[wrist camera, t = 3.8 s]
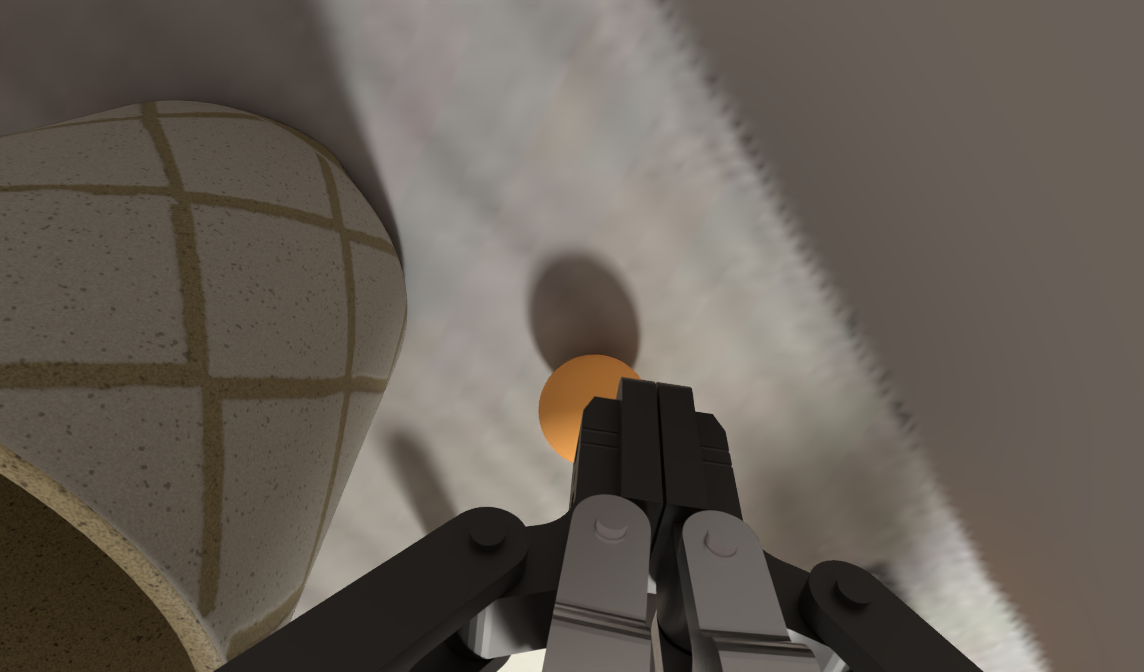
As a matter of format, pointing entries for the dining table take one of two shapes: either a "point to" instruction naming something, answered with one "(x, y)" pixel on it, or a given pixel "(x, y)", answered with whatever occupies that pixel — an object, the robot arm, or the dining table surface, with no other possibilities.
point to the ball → (577, 397)
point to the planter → (178, 380)
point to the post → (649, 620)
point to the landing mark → (525, 662)
